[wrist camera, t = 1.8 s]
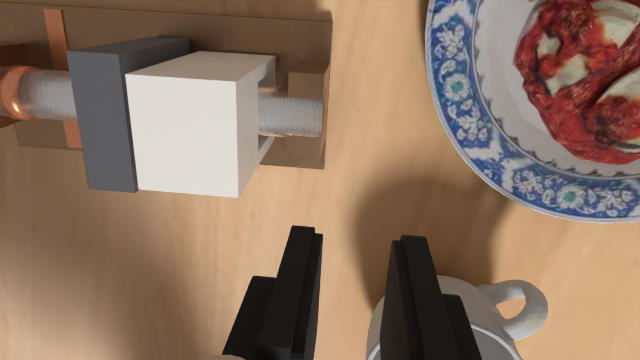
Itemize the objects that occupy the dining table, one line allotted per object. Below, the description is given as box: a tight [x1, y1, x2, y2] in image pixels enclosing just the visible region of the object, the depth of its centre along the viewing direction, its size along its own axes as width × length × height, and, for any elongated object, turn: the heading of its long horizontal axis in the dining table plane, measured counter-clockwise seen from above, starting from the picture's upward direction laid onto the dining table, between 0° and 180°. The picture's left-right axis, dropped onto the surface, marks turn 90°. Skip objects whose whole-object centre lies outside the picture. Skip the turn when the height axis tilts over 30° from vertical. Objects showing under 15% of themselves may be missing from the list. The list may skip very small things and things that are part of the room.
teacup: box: [366, 275, 548, 360], centre depth 32 cm, size 14×11×8 cm
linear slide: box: [0, 2, 333, 169], centre depth 28 cm, size 23×10×6 cm, turn 87°
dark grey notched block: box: [66, 36, 190, 193], centre depth 26 cm, size 7×2×9 cm, turn 177°
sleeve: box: [125, 51, 276, 198], centre depth 25 cm, size 6×5×10 cm
